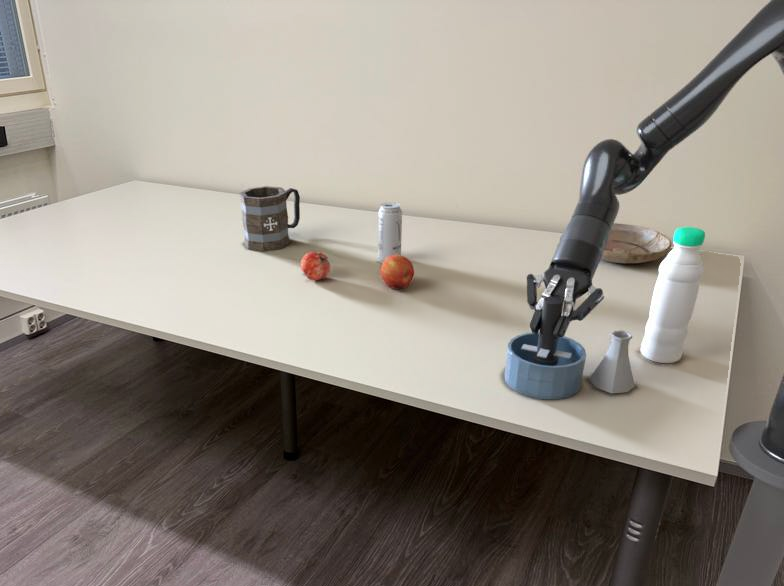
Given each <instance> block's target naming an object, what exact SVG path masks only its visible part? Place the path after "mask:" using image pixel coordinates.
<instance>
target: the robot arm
mask: <svg viewBox="0 0 784 586" xmlns="http://www.w3.org/2000/svg"><path fill="white" fill-rule="evenodd" d="M770 55H771V56H772V58H773V59H774V61H776V63H777V65H778V66H779V68H780V70H781V72H782V74H783V76H784V0H770V1H768V3H766V4H765V5H764V6H763V7H762V8H761V9H760V10H759V11H758V12H757V13H756V14H755V15H754V16H753V17H752V18H751V19H750V20H749V21H748V23H746V24H745V26H744V27H742V29H740V31H738V33H737V34H736V35H735V36H734V37H733V38H732V39H731V40H730V41H728V43H727V44H726V45H725V46H724V47H722V49H721V50H720V51H719V52H718V53H717V54H716V55H715V57H714V58H712V60H710V61H709V63H707V65H705V66H704V68H702V69H701V71H699V73H697V74H695V76H694V77H693V78H692V79H691V80H690V81H689V82H688V83H686V84H685V85H684V86H683V87H682V88H681V89H679V90H678V91H677V92H675V94H673V96H671V97H670V98H668V99H667V100H665V102H664V103H662V104H661V105H660V106H659V107H657V108H656V109H654V110H653V111H652V112H651V113H650V114H649V115H647V116H646V117H644V119H643V120H641V121H640V122H639V123H638V124H637V126H636V134H637V136H638V139H639V140H640V142H641V143H640V145H639V146H638V147H637V149H636V151H635V152H634V153H632V152H631V150H630V149H628V147H626V145H624V144H623V143H622V142H621V141H619V140H617V139H613V138H607V139H604V140H601V141H600V142H598V143H597V144H596V145H594V146H593V147H592V148H591V149H590V151H589V152H588V154H587V156H586V157H585V159H584V163H583V166H582V172H581V178H580V186H579V194H578V195H579V196H578V201H577V203H576V206H575V208H574V211H573V213H572V215H571V218H570V220H569V222H568V223H567V224H566V227H565V228H564V230H563V233H562V235H561V236H560V238H559V242H558V244H557V247H556V249H555V251H554V253H553V256H552V258H551V261H550V264H549V265H548V268H547V269H546V270H545V271H544V272H543V274H538V275H534V274H532V273H529V274H527V275H526V302H527V305H528V306H529V309H531V310H533V311H534V313H533V315H532V317H531V319H530V322H529V328H530V331H531V333H534V334H538V332H539V331H540V324H541V317H542V310H543V302H544V298H546V297H550V296H554V297H559V298H561V299H563V301H564V302H563V309H562V315H561V316H560V318H559V320H558V323H557V325H556V327H555V330H554V332H553V337H554V339H557V340H559V338H560V337H563V336H565V335H566V332H567V330H568V328H569V326H570V323H571V322H572V321H580V322H581V321H583V320H584V319H586V317H587V316H588V315H589V314H590V313H592V311H593V310H594V309H595V308H596V307H597V306H598V305H599V304H600V303H601V302H602V301H603V300H604V299H605V295H604V292H603V291H604V290H603V289H602V288H600V287H595V286H594V285H593V278H594V277H595V273H596V271H597V269H598V267H599V264H600V262H601V257H602V254H603V252H604V249H605V247H606V245H607V242H608V238H609V234H610V231H611V228H612V226H613V224H614V223H615V221H616V218H617V217H618V215H619V211H620V201H619V199H618V197H617V196H620V195H625V194H628V193H630V192H632V191H634V190H635V189H637V188H638V187H639V186H640V185H641V184H642V183H643V182H644V181H645V180H646V179H647V177H648V176H649V175H650V174H651V173H652V172H653V170H654V169H655V168H656V167H657V165H658V164H659V163H661V161H662V160H663V159H664V157H665V156H666V155H667V154H668V153H669V152H670V151H671V150H672V149H674V148H675V147H676V146H678V145H679V144H681V143H682V142H683V141H685V140H686V139H688V137H690V136H691V135H693V134H694V133H695V132H696V131H698V130H699V129H700V128H701V127H703V126H704V125H705V123H707V121H709V120H710V119H711V117H713V115H714V114H715V113H716V112H717V110H718V109H719V107H720V106H721V105H722V103H723V102H724V101H725V99H726V98H727V96H728V95H729V94H730V93H731V91H732V90H733V88H734V87H736V85H737V84H738V83H739V82H740V80H741V79H742V78H743V77H744V76H745V75H746V74H747V73H749V71H750V70H752V68H754V67H755V66H756V65H757V64H759V63H760V62H761V61H763V60H764V59H765V58H767V57H768V56H770ZM542 283H543V284H544V287H545V289H544V291H543V292H542V294H541V297H540V299H539V300H538V290H537V289H539V288H540V287H541V284H542ZM585 294H587V295H586V296H587V298H586V299H585V300H584V301H583V302H582V303H580V305H579V306H578V307H577V308H576V303H577V300H578V299H579V298H581V297H582V296H584V295H585ZM766 421H767V423H766V426H765V428H764V430H763V434H762V435H761V438H760V440H759V445H760V447H761V449H762V450H763V451H764V453H766V454H767V455H768V456H769V457H771V458H772V459H774V460H776V461H778V462H780V463H782V464H784V374H783V375H782V378H781V381H780V384H779V386H778V388H777V392H776V395H775V398H774V400H773V403H772V406H771V408H770V412H769V414H768V417H767V420H766Z"/></svg>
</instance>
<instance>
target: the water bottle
mask: <svg viewBox="0 0 784 586" xmlns="http://www.w3.org/2000/svg"><path fill="white" fill-rule="evenodd" d="M705 238H706V232H705V231H704V230H702V229H701V228H697V227H693V226H682V227H678V228H676V229H675V231H674V234H673V237H672V244H673V248H672V250H671V249H670V250H669V251H668V253H667V254H666V257H664V259H663V260H662V261H661V262H660V264H659V266H658V276H657V279H656V282H655V285H654V289H653V292H652V293H653V294H652V297H651V303H650V307H649V314H648V315H649V316H648V319H647V321H646V324H645V328H644V330H645V331H644V336H643V338H642V342H641V346H640V353H641V355H642V356H643V357H644V358H645V359H647V360H649V361H652V362H654V363H659V364H672V363H676V362H678V361H680V360H681V359H682V356H683V352H684V347H685V341H686V339H687V336H688V333H689V324H690V321H691V319H692V315H693V313H694V309H695V305H696V303H697V298H698V294H699V290H700V284H701V283H700V282H701V280H702V278H703V275H704V271H705V270H704V266H703V265H704V264H703V262H702V257H701V254H700V253H699V252H700V251H699V249H700V248H701V247H702V246H703V244H704V242H705Z"/></svg>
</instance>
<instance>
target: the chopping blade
mask: <svg viewBox="0 0 784 586" xmlns="http://www.w3.org/2000/svg"><path fill="white" fill-rule="evenodd" d="M563 308H564V301H563V299H561V298H559V297H554V296H550V297H546V298H544V302H543V310H542V317H541V324H540V329H539V339H538V346H537V347H536V346H531V345H526V344H523V346H522V348H521V349H523V350H528V351H533V352H534V353H533V356H532V361H533V362H534V363H535V364H540V365H547V366H555V365H557V363H558V356H559V357H564V358H569V359H570V357H571V355H572V353H567V352H562V351H557V350H556V348H557V341H558V340H557V339H554V337H553V332H554V330H555V327H556V325H557V323H558V320H559V318H560V316H562V315H563Z"/></svg>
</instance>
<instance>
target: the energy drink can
mask: <svg viewBox="0 0 784 586" xmlns="http://www.w3.org/2000/svg"><path fill="white" fill-rule="evenodd" d="M402 231H403V210H402V209H401V207H400V204H399V203H397V202H385V203H382V204H381V205H380V208H379V209H378V234H377V235H378V242H377V247H378V248H377V250H378V251H377V256H378V257H377V258H378V259H379V261H380V262H381V263H383V261H384V260H385V259H386V258H387V257H389V256H390V255H394V254H397V255H402V233H403V232H402Z"/></svg>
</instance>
